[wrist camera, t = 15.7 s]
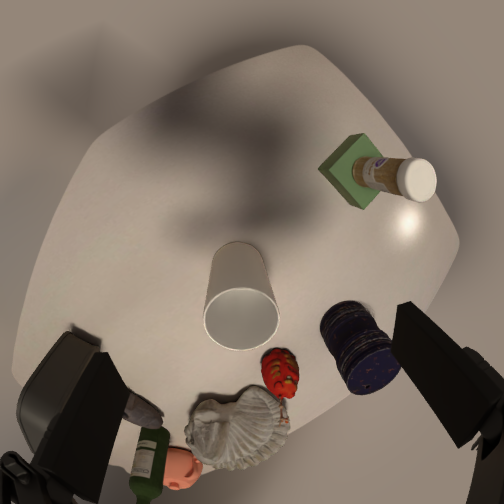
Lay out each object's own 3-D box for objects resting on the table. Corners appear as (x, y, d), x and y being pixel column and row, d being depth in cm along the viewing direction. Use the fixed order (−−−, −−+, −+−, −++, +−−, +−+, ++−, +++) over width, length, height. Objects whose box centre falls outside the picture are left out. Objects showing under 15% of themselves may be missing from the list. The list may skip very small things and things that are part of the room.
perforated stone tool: (169, 412, 54) (165, 434, 47) (158, 419, 55) (153, 440, 48) (117, 377, 50) (108, 399, 43) (107, 386, 50) (98, 407, 44)
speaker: (72, 321, 45) (11, 405, 21) (108, 339, 46) (58, 435, 23) (70, 389, 51) (35, 459, 27) (98, 403, 53) (70, 479, 29)
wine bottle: (150, 420, 55) (131, 520, 26) (175, 433, 57) (165, 530, 28) (136, 428, 56) (116, 519, 28) (160, 441, 58) (147, 530, 30)
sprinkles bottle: (360, 150, 34) (418, 149, 21) (383, 168, 35) (443, 176, 22) (345, 176, 35) (399, 185, 22) (368, 194, 36) (426, 211, 23)
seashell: (245, 366, 48) (302, 403, 55) (182, 383, 57) (239, 415, 64) (225, 460, 32) (295, 478, 39) (158, 452, 42) (226, 476, 49)
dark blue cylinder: (330, 296, 46) (365, 346, 32) (373, 303, 48) (413, 348, 34) (311, 340, 49) (335, 396, 35) (353, 345, 51) (384, 394, 37)
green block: (317, 168, 39) (328, 169, 35) (349, 135, 38) (364, 132, 33) (349, 204, 41) (363, 210, 37) (380, 171, 40) (396, 173, 35)
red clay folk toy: (302, 359, 51) (322, 415, 36) (277, 378, 52) (289, 435, 38) (277, 340, 49) (292, 400, 34) (250, 361, 50) (257, 421, 36)
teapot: (171, 471, 65) (168, 499, 53) (135, 452, 61) (128, 482, 49) (218, 458, 62) (219, 491, 50) (180, 437, 58) (176, 474, 46)
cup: (268, 246, 43) (288, 292, 27) (258, 293, 45) (270, 354, 30) (215, 238, 42) (207, 281, 26) (208, 286, 44) (199, 346, 29)
